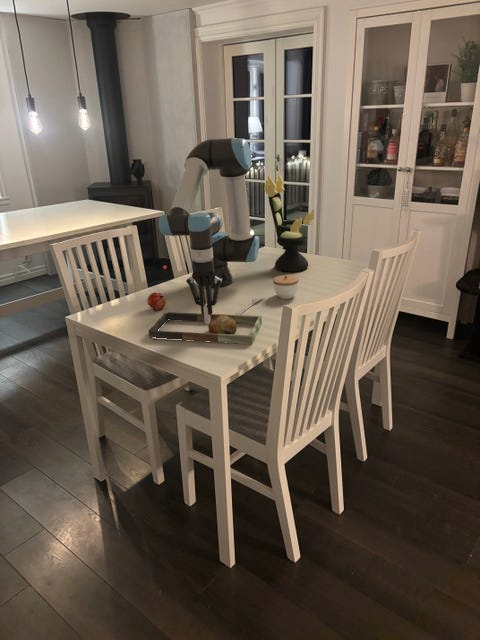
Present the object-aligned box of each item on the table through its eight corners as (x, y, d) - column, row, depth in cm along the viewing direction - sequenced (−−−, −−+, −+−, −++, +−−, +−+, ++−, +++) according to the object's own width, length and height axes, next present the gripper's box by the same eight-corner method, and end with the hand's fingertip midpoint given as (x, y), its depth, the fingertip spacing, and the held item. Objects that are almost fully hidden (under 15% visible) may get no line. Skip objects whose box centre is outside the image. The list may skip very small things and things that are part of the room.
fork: (234, 320, 190) (233, 314, 189) (260, 298, 205) (260, 292, 203) (240, 322, 189) (239, 315, 187) (266, 299, 203) (265, 293, 202)
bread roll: (214, 347, 171) (217, 332, 166) (202, 327, 177) (205, 312, 172) (238, 340, 176) (242, 325, 170) (226, 321, 181) (229, 306, 176)
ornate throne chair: (302, 275, 229) (302, 177, 211) (259, 271, 238) (255, 177, 220) (314, 264, 244) (315, 172, 226) (273, 260, 253) (271, 172, 235)
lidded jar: (297, 301, 198) (297, 279, 195) (271, 300, 201) (271, 279, 197) (299, 292, 208) (299, 271, 204) (275, 291, 210) (274, 271, 206)
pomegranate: (146, 316, 198) (157, 306, 191) (140, 300, 199) (150, 290, 192) (161, 312, 203) (172, 302, 196) (155, 297, 204) (165, 286, 197)
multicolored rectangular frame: (166, 319, 188) (165, 312, 187) (261, 323, 180) (261, 315, 178) (148, 339, 172) (147, 331, 171) (252, 344, 164) (251, 336, 162)
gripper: (181, 262, 163) (187, 325, 172) (217, 263, 160) (222, 327, 169) (188, 256, 170) (194, 317, 179) (223, 256, 167) (227, 319, 176)
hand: (207, 322), depth 174 cm, fingers closed
